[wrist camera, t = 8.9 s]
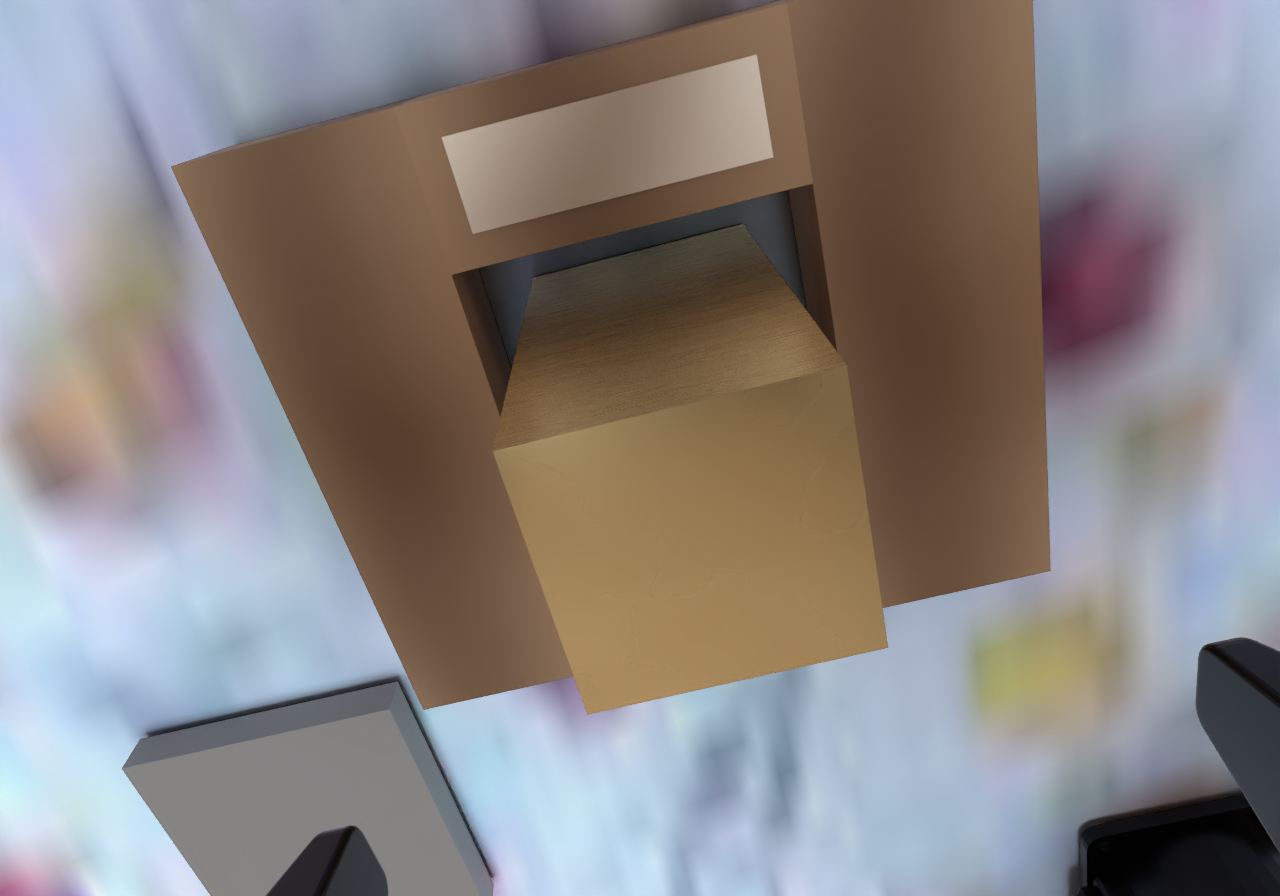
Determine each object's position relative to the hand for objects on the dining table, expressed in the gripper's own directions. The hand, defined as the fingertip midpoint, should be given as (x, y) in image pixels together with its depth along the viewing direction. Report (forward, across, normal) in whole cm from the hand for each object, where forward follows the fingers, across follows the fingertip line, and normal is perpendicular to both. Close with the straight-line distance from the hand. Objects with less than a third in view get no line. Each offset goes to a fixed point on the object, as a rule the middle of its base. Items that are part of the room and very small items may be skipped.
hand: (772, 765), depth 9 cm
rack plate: (+11, 0, -1) cm, 11 cm away
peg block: (+11, 0, -1) cm, 11 cm away
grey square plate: (+11, +12, +10) cm, 19 cm away
